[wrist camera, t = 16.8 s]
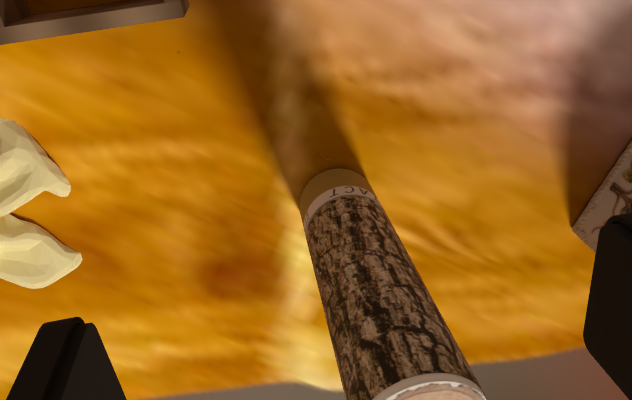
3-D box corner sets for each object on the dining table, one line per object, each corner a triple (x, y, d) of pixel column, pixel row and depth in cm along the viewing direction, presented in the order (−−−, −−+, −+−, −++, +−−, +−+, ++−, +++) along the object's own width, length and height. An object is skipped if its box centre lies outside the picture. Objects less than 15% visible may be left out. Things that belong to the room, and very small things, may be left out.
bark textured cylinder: (346, 242, 50) (438, 489, 28) (284, 214, 48) (331, 460, 26) (386, 184, 48) (519, 404, 26) (322, 152, 45) (410, 363, 24)
